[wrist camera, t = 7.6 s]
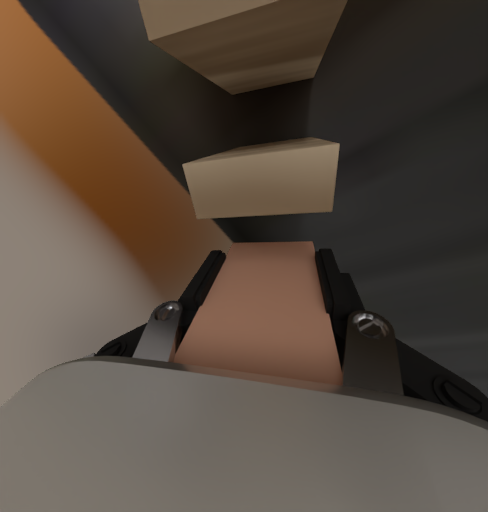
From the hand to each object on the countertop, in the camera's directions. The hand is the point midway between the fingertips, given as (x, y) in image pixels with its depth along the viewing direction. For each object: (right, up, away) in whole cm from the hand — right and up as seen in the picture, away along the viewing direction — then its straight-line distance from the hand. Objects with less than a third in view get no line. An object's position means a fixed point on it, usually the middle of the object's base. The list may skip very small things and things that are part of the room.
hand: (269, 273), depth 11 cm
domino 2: (+1, +8, +3) cm, 9 cm away
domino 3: (0, +1, +2) cm, 2 cm away
